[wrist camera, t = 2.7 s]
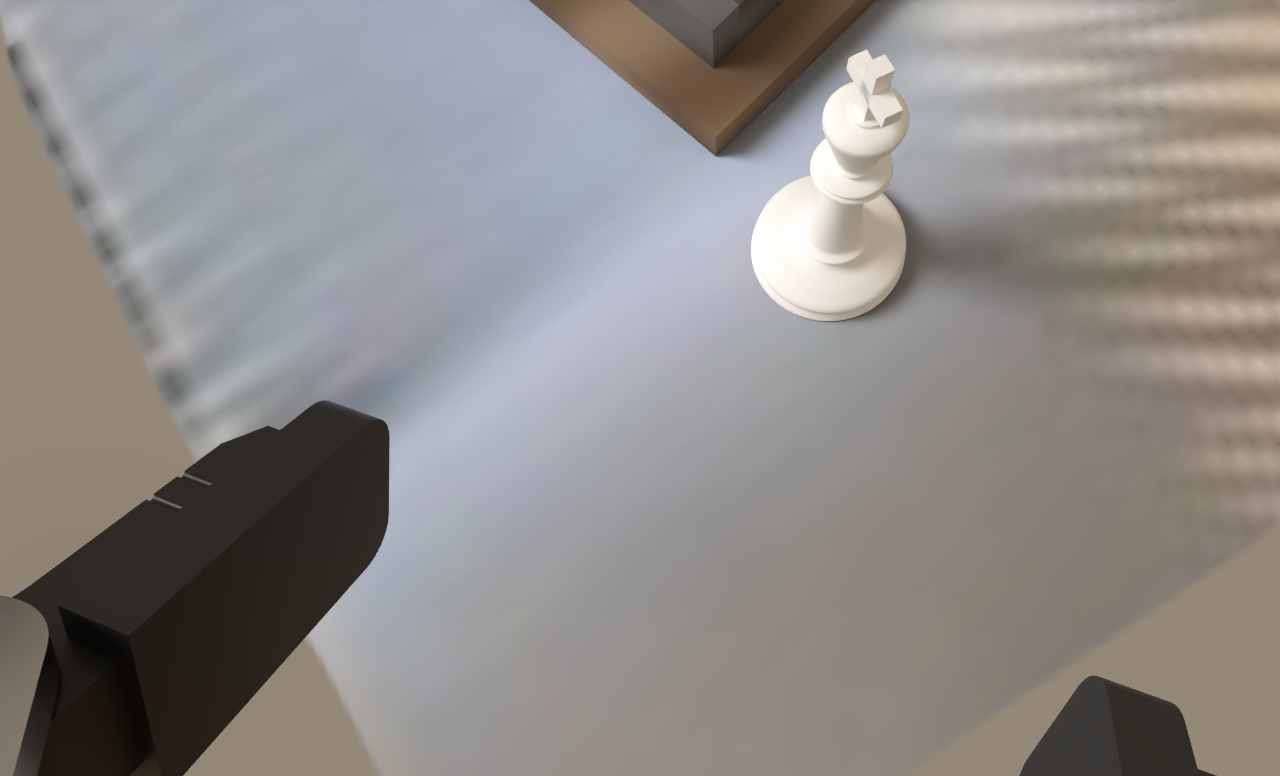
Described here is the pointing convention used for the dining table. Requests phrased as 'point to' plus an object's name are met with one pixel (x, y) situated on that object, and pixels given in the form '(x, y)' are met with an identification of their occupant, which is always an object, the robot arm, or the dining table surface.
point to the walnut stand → (706, 52)
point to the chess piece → (840, 207)
